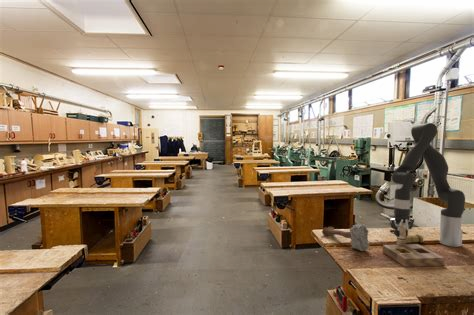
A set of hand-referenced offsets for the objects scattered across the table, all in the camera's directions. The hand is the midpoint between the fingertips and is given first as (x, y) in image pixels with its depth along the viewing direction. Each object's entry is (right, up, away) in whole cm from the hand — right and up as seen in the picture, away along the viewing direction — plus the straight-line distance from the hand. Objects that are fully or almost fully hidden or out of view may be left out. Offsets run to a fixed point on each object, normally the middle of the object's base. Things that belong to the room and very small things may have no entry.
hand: (401, 236), depth 136 cm
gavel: (+12, -7, +17) cm, 22 cm away
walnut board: (-4, -7, -13) cm, 15 cm away
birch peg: (0, -6, 0) cm, 6 cm away
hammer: (-29, -7, +8) cm, 31 cm away
